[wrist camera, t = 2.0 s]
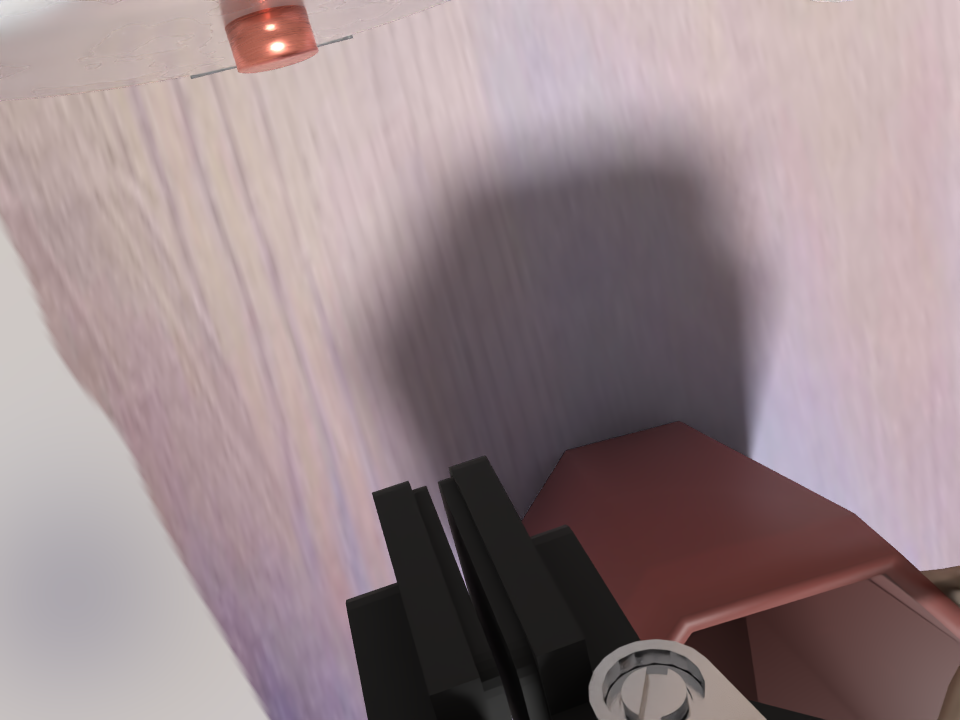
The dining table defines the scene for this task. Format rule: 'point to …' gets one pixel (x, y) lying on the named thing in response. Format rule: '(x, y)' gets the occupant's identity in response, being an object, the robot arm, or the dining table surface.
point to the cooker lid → (168, 38)
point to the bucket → (759, 577)
